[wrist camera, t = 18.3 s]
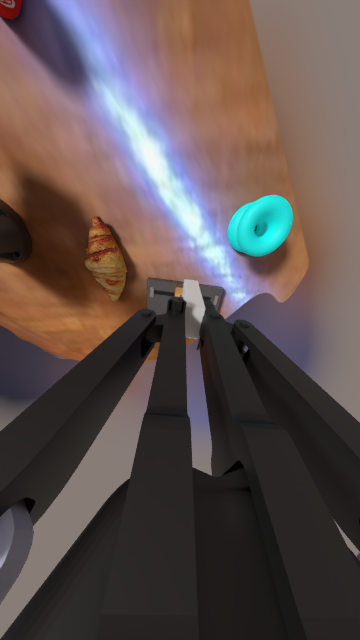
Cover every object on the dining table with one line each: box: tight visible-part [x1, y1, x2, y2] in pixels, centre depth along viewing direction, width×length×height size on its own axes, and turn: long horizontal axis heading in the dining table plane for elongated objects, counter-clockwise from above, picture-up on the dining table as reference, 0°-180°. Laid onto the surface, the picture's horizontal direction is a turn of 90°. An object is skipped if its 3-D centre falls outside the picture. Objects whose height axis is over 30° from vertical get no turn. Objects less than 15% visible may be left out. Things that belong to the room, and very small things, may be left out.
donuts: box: [228, 195, 293, 257], centre depth 31 cm, size 10×10×10 cm
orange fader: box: [175, 287, 183, 297], centre depth 40 cm, size 3×5×5 cm, turn 173°
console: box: [147, 277, 224, 315], centre depth 45 cm, size 22×16×3 cm
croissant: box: [85, 216, 128, 301], centre depth 38 cm, size 21×10×8 cm, turn 179°
